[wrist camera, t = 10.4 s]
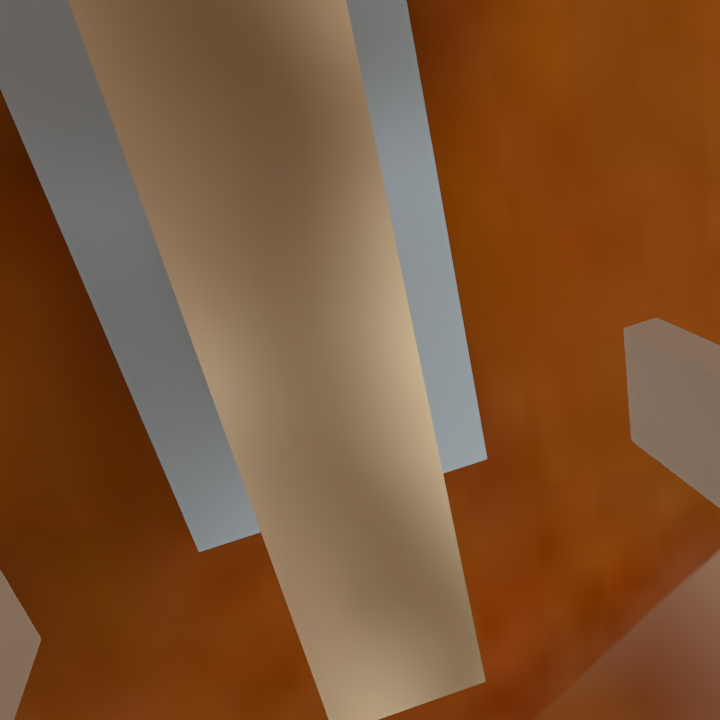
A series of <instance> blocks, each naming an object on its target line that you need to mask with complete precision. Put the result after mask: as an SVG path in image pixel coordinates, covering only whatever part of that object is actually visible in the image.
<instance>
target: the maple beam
mask: <svg viewBox="0 0 720 720" xmlns="http://www.w3.org/2000/svg"><path fill="white" fill-rule="evenodd" d="M68 1H69V4H70V6H71V9H72V12H73V15H74V17H75V20H76V23H77V26H78V28H79V31H80V34H81V37H82V39H83V42H84V45H85V48H86V50H87V53H88V56H89V59H90V62H91V64H92V67H93V70H94V73H95V75H96V78H97V81H98V84H99V86H100V89H101V92H102V95H103V97H104V100H105V103H106V106H107V108H108V111H109V114H110V117H111V119H112V122H113V125H114V128H115V131H116V133H117V136H118V139H119V142H120V144H121V147H122V150H123V153H124V155H125V158H126V161H127V164H128V166H129V169H130V172H131V175H132V177H133V180H134V183H135V186H136V189H137V191H138V194H139V197H140V200H141V202H142V205H143V208H144V211H145V213H146V216H147V219H148V222H149V224H150V227H151V230H152V233H153V235H154V238H155V241H156V244H157V246H158V249H159V252H160V255H161V258H162V260H163V263H164V266H165V269H166V271H167V274H168V277H169V280H170V282H171V285H172V288H173V291H174V293H175V296H176V299H177V302H178V304H179V307H180V310H181V313H182V315H183V318H184V321H185V324H186V327H187V329H188V332H189V335H190V338H191V340H192V343H193V346H194V349H195V351H196V354H197V357H198V360H199V362H200V365H201V368H202V371H203V373H204V376H205V379H206V382H207V385H208V387H209V390H210V393H211V396H212V398H213V401H214V404H215V407H216V409H217V412H218V415H219V418H220V420H221V423H222V426H223V429H224V431H225V434H226V437H227V440H228V442H229V445H230V448H231V451H232V454H233V456H234V459H235V462H236V465H237V467H238V470H239V473H240V476H241V478H242V481H243V484H244V487H245V489H246V492H247V495H248V498H249V500H250V503H251V506H252V509H253V511H254V514H255V517H256V520H257V523H258V525H259V528H260V531H261V534H262V536H263V539H264V542H265V545H266V547H267V550H268V553H269V556H270V558H271V561H272V564H273V567H274V569H275V572H276V575H277V578H278V580H279V583H280V586H281V589H282V592H283V594H284V597H285V600H286V603H287V605H288V608H289V611H290V614H291V616H292V619H293V622H294V625H295V627H296V630H297V633H298V636H299V638H300V641H301V644H302V647H303V650H304V652H305V655H306V658H307V661H308V663H309V666H310V669H311V672H312V674H313V677H314V680H315V683H316V685H317V688H318V691H319V694H320V696H321V699H322V702H323V705H324V707H325V710H326V713H327V716H328V719H329V720H378V719H381V718H384V717H387V716H390V715H392V714H395V713H398V712H401V711H404V710H407V709H409V708H412V707H415V706H418V705H421V704H423V703H426V702H429V701H432V700H435V699H438V698H440V697H443V696H446V695H449V694H452V693H455V692H457V691H460V690H463V689H466V688H469V687H471V686H474V685H477V684H480V683H483V682H486V681H485V676H484V671H483V666H482V662H481V657H480V652H479V647H478V642H477V637H476V632H475V627H474V622H473V618H472V613H471V608H470V603H469V598H468V593H467V588H466V583H465V578H464V574H463V569H462V564H461V559H460V554H459V549H458V544H457V539H456V535H455V530H454V525H453V520H452V515H451V510H450V505H449V500H448V495H447V491H446V486H445V481H444V476H443V471H442V466H441V461H440V456H439V451H438V447H437V442H436V437H435V432H434V427H433V422H432V417H431V412H430V407H429V403H428V398H427V393H426V388H425V383H424V378H423V373H422V368H421V364H420V359H419V354H418V349H417V344H416V339H415V334H414V329H413V324H412V320H411V315H410V310H409V305H408V300H407V295H406V290H405V285H404V280H403V276H402V271H401V266H400V261H399V256H398V251H397V246H396V241H395V236H394V232H393V227H392V222H391V217H390V212H389V207H388V202H387V197H386V193H385V188H384V183H383V178H382V173H381V168H380V163H379V158H378V153H377V149H376V144H375V139H374V134H373V129H372V124H371V119H370V114H369V109H368V105H367V100H366V95H365V90H364V85H363V80H362V75H361V70H360V65H359V61H358V56H357V51H356V46H355V41H354V36H353V31H352V26H351V21H350V17H349V12H348V7H347V2H346V0H68Z"/></svg>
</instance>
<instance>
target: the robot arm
mask: <svg viewBox="0 0 720 720" xmlns="http://www.w3.org/2000/svg"><path fill="white" fill-rule="evenodd" d="M623 329H624V343H625V357H626V372H627V386H628V400H629V415H630V429H631V441H633V442H634V443H635V444H637V445H638V446H639V447H641V448H642V449H643V450H644V451H646V452H647V453H648V454H650V455H651V456H652V457H654V458H655V459H656V460H657V461H659V462H660V463H661V464H663V465H664V466H665V467H667V468H668V469H669V470H671V471H672V472H673V473H674V474H676V475H677V476H678V477H680V478H681V479H682V480H684V481H685V482H686V483H688V484H689V485H690V486H691V487H693V488H694V489H695V490H697V491H698V492H699V493H701V494H702V495H703V496H704V497H706V498H707V499H708V500H710V501H711V502H712V503H714V504H715V505H716V506H718V507H719V508H720V345H718V344H715V343H713V342H711V341H709V340H706V339H704V338H702V337H700V336H697V335H695V334H693V333H690V332H688V331H686V330H684V329H681V328H679V327H677V326H675V325H672V324H670V323H668V322H666V321H663V320H661V319H659V318H654V319H651V320H648V321H644V322H641V323H638V324H635V325H632V326H629V327H625V328H623ZM40 642H41V637H40V635H39V634H38V632H37V630H36V629H35V627H34V625H33V624H32V622H31V620H30V619H29V617H28V615H27V614H26V612H25V610H24V609H23V607H22V605H21V604H20V602H19V600H18V599H17V597H16V595H15V593H14V592H13V590H12V588H11V587H10V585H9V583H8V582H7V580H6V578H5V577H4V575H3V573H2V572H1V570H0V720H14V718H15V715H16V712H17V710H18V707H19V704H20V701H21V698H22V695H23V692H24V689H25V686H26V683H27V680H28V677H29V674H30V671H31V668H32V665H33V662H34V659H35V657H36V654H37V651H38V648H39V645H40Z"/></svg>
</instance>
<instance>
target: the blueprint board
mask: <svg viewBox="0 0 720 720" xmlns="http://www.w3.org/2000/svg"><path fill="white" fill-rule="evenodd" d="M346 2H347V7H348V12H349V17H350V21H351V26H352V31H353V36H354V41H355V46H356V51H357V56H358V61H359V65H360V70H361V75H362V80H363V85H364V90H365V95H366V100H367V105H368V109H369V114H370V119H371V124H372V129H373V134H374V139H375V144H376V149H377V153H378V158H379V163H380V168H381V173H382V178H383V183H384V188H385V193H386V197H387V202H388V207H389V212H390V217H391V222H392V227H393V232H394V236H395V241H396V246H397V251H398V256H399V261H400V266H401V271H402V276H403V280H404V285H405V290H406V295H407V300H408V305H409V310H410V315H411V320H412V324H413V329H414V334H415V339H416V344H417V349H418V354H419V359H420V364H421V368H422V373H423V378H424V383H425V388H426V393H427V398H428V403H429V407H430V412H431V417H432V422H433V427H434V432H435V437H436V442H437V447H438V451H439V456H440V461H441V466H442V471H443V473H446V472H449V471H452V470H455V469H458V468H461V467H464V466H467V465H471V464H474V463H477V462H480V461H483V460H486V459H487V454H486V449H485V443H484V437H483V432H482V426H481V420H480V415H479V409H478V403H477V398H476V392H475V386H474V381H473V375H472V369H471V364H470V358H469V352H468V346H467V341H466V335H465V329H464V324H463V318H462V312H461V307H460V301H459V295H458V290H457V284H456V278H455V273H454V267H453V261H452V256H451V250H450V244H449V239H448V233H447V227H446V222H445V216H444V210H443V205H442V199H441V193H440V188H439V182H438V176H437V171H436V165H435V159H434V154H433V148H432V142H431V137H430V131H429V125H428V119H427V114H426V108H425V102H424V97H423V91H422V85H421V80H420V74H419V68H418V63H417V57H416V51H415V46H414V40H413V34H412V29H411V23H410V17H409V12H408V6H407V0H346ZM0 90H1V92H2V94H3V97H4V99H5V101H6V104H7V106H8V108H9V111H10V113H11V115H12V118H13V120H14V122H15V125H16V127H17V129H18V132H19V134H20V136H21V139H22V141H23V143H24V146H25V148H26V150H27V153H28V155H29V157H30V160H31V162H32V164H33V167H34V169H35V171H36V174H37V176H38V178H39V181H40V183H41V185H42V188H43V190H44V192H45V195H46V197H47V199H48V202H49V204H50V206H51V209H52V211H53V213H54V216H55V218H56V220H57V222H58V225H59V227H60V229H61V232H62V234H63V236H64V239H65V241H66V243H67V246H68V248H69V250H70V253H71V255H72V257H73V260H74V262H75V264H76V267H77V269H78V271H79V274H80V276H81V278H82V281H83V283H84V285H85V288H86V290H87V292H88V295H89V297H90V299H91V302H92V304H93V306H94V309H95V311H96V313H97V316H98V318H99V320H100V323H101V325H102V327H103V330H104V332H105V334H106V337H107V339H108V341H109V344H110V346H111V348H112V351H113V353H114V355H115V358H116V360H117V362H118V365H119V367H120V369H121V372H122V374H123V376H124V379H125V381H126V383H127V386H128V388H129V390H130V393H131V395H132V397H133V400H134V402H135V404H136V407H137V409H138V411H139V414H140V416H141V418H142V421H143V423H144V425H145V428H146V430H147V432H148V435H149V437H150V439H151V442H152V444H153V446H154V449H155V451H156V453H157V456H158V458H159V460H160V463H161V465H162V467H163V470H164V472H165V474H166V477H167V479H168V481H169V484H170V486H171V488H172V491H173V493H174V495H175V498H176V500H177V502H178V505H179V507H180V509H181V512H182V514H183V516H184V519H185V521H186V523H187V526H188V528H189V530H190V533H191V535H192V537H193V540H194V542H195V544H196V547H197V549H198V551H199V552H201V551H204V550H207V549H210V548H213V547H216V546H220V545H223V544H226V543H229V542H232V541H235V540H238V539H241V538H244V537H247V536H251V535H254V534H257V533H260V532H261V531H260V528H259V525H258V523H257V520H256V517H255V514H254V511H253V509H252V506H251V503H250V500H249V498H248V495H247V492H246V489H245V487H244V484H243V481H242V478H241V476H240V473H239V470H238V467H237V465H236V462H235V459H234V456H233V454H232V451H231V448H230V445H229V442H228V440H227V437H226V434H225V431H224V429H223V426H222V423H221V420H220V418H219V415H218V412H217V409H216V407H215V404H214V401H213V398H212V396H211V393H210V390H209V387H208V385H207V382H206V379H205V376H204V373H203V371H202V368H201V365H200V362H199V360H198V357H197V354H196V351H195V349H194V346H193V343H192V340H191V338H190V335H189V332H188V329H187V327H186V324H185V321H184V318H183V315H182V313H181V310H180V307H179V304H178V302H177V299H176V296H175V293H174V291H173V288H172V285H171V282H170V280H169V277H168V274H167V271H166V269H165V266H164V263H163V260H162V258H161V255H160V252H159V249H158V246H157V244H156V241H155V238H154V235H153V233H152V230H151V227H150V224H149V222H148V219H147V216H146V213H145V211H144V208H143V205H142V202H141V200H140V197H139V194H138V191H137V189H136V186H135V183H134V180H133V177H132V175H131V172H130V169H129V166H128V164H127V161H126V158H125V155H124V153H123V150H122V147H121V144H120V142H119V139H118V136H117V133H116V131H115V128H114V125H113V122H112V119H111V117H110V114H109V111H108V108H107V106H106V103H105V100H104V97H103V95H102V92H101V89H100V86H99V84H98V81H97V78H96V75H95V73H94V70H93V67H92V64H91V62H90V59H89V56H88V53H87V50H86V48H85V45H84V42H83V39H82V37H81V34H80V31H79V28H78V26H77V23H76V20H75V17H74V15H73V12H72V9H71V6H70V4H69V1H68V0H0Z"/></svg>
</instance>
